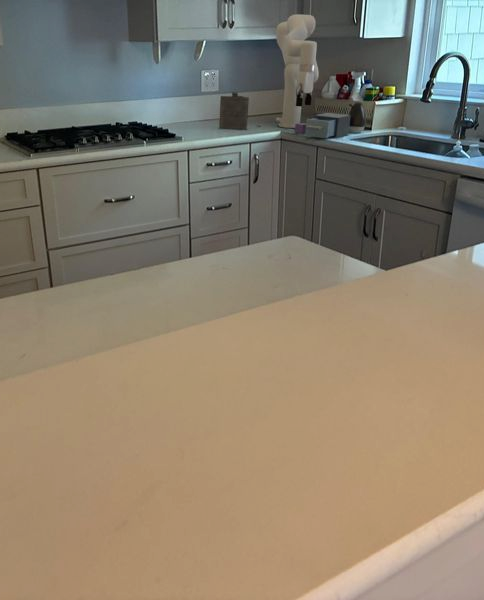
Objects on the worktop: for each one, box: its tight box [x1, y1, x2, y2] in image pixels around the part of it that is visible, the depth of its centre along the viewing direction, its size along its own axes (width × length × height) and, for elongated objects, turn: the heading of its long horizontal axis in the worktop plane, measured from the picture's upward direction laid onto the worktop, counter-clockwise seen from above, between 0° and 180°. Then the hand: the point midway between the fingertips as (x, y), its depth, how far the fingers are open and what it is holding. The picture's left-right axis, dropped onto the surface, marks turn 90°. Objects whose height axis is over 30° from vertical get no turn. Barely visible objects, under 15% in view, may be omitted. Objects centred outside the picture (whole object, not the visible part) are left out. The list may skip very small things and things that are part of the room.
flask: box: [218, 91, 250, 131], centre depth 313 cm, size 4×14×18 cm, turn 81°
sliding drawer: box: [304, 117, 337, 139], centre depth 294 cm, size 18×11×8 cm, turn 144°
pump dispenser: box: [347, 101, 367, 134], centre depth 314 cm, size 10×10×15 cm
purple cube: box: [294, 122, 306, 135], centre depth 309 cm, size 4×4×4 cm
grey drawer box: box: [313, 112, 351, 139], centre depth 304 cm, size 15×13×10 cm
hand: (303, 105), depth 304 cm, fingers open, 9 cm apart
